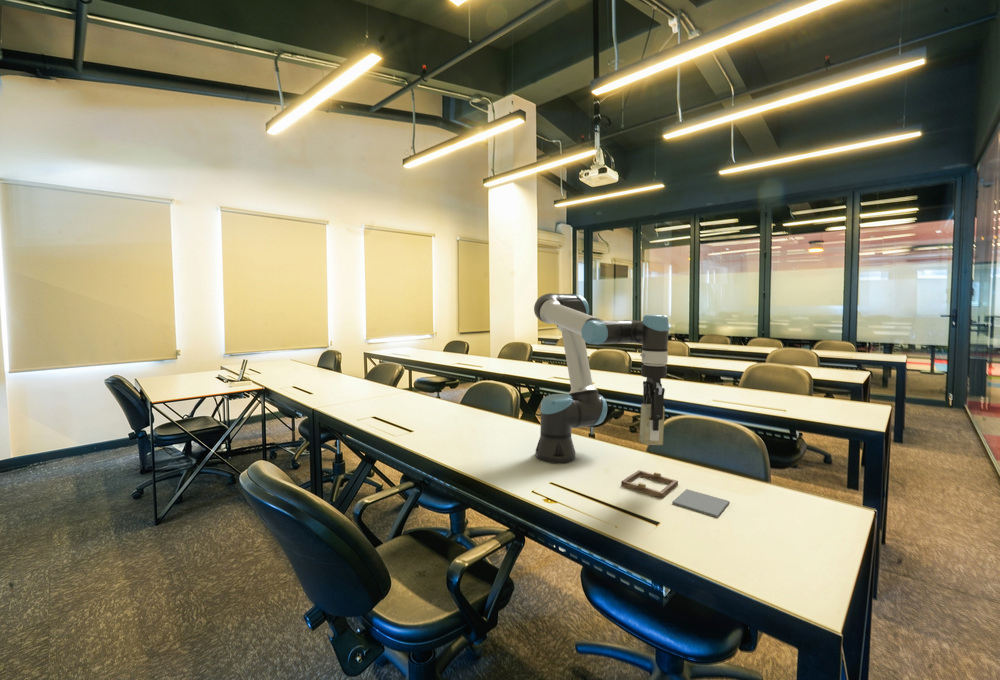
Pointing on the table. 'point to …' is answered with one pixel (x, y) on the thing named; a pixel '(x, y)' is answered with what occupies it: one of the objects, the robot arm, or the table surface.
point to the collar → (643, 487)
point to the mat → (701, 503)
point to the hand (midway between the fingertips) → (651, 437)
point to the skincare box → (646, 426)
